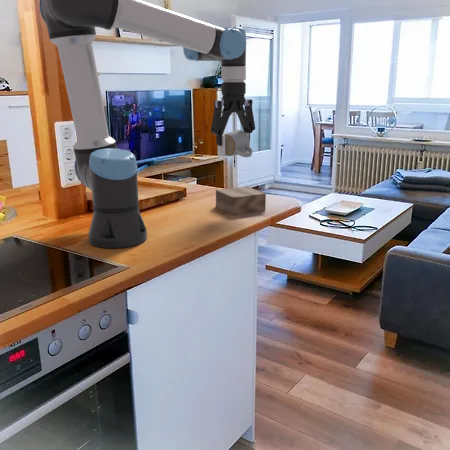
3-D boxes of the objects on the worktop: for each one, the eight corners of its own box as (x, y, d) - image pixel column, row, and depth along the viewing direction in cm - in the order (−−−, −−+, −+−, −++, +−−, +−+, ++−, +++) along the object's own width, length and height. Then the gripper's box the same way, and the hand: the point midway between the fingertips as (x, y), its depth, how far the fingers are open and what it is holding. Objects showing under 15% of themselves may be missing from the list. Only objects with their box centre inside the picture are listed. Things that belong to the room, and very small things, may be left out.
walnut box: (233, 216, 151) (233, 197, 149) (215, 207, 161) (215, 189, 159) (265, 211, 156) (265, 193, 155) (246, 203, 166) (246, 186, 165)
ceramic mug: (216, 155, 154) (216, 131, 151) (231, 152, 160) (232, 129, 157) (242, 159, 147) (243, 134, 145) (257, 155, 153) (258, 131, 151)
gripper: (252, 81, 157) (251, 149, 163) (197, 81, 144) (199, 156, 151) (267, 81, 151) (266, 152, 158) (212, 81, 138) (213, 159, 145)
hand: (233, 154), depth 154 cm, fingers closed on ceramic mug, 9 cm apart
